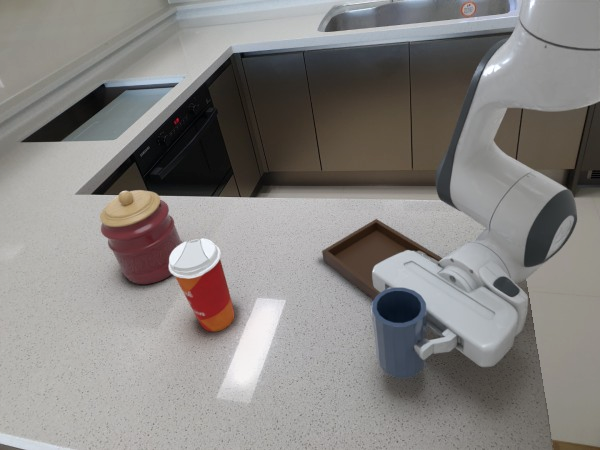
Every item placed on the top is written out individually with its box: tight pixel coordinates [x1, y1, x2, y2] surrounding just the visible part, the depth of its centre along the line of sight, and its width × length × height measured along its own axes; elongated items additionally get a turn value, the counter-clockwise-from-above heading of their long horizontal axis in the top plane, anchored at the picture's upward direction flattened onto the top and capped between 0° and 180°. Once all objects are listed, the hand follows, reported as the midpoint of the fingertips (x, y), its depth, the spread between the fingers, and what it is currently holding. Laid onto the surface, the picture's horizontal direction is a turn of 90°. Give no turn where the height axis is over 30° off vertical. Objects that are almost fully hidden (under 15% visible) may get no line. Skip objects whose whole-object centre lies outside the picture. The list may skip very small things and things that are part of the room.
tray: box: [321, 218, 444, 301], centre depth 83 cm, size 18×14×2 cm
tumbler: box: [371, 287, 427, 379], centre depth 58 cm, size 6×6×10 cm
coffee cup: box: [169, 237, 235, 333], centre depth 75 cm, size 8×8×15 cm
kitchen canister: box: [99, 189, 184, 285], centre depth 89 cm, size 13×13×18 cm
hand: (395, 334), depth 58 cm, fingers closed on tumbler, 6 cm apart
